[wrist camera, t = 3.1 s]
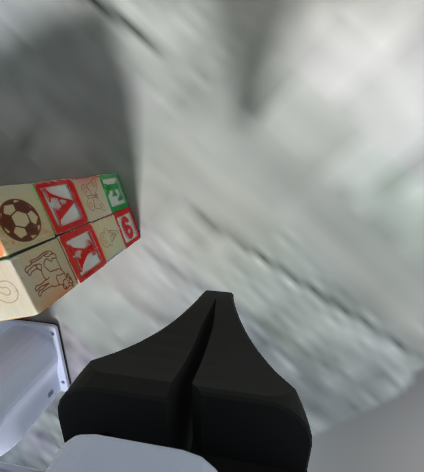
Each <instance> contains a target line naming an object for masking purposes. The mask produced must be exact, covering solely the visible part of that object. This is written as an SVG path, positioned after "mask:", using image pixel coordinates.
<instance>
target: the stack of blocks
mask: <svg viewBox="0 0 424 472" xmlns="http://www.w3.org/2000/svg"><path fill="white" fill-rule="evenodd" d="M138 239H140V234H139V231H138V229H137V226H136V223H135V220H134V218H133V215H132V212H131V209H130V207H129V205H128V202H127V199H126V197H125V194H124V191H123V188H122V185H121V182H120V180H119V177H118V174H117V173H111V174H99V175H94V176H91V177H83V178H76V179H69V178H65V179H57V180H48V181H41V182H34V183H30V184H29V183H28V184H18V185H6V186H0V321H5V320H11V319H17V318H23V317H29V316H34V315H37V314H39V313H41V312H42V311H44V310H45V309H46V308H48V307H49V306H50V305H52V304H53V303H54V302H55V301H57V300H58V299H59V298H61V297H62V296H64V295H65V294H66V293H67V292H69V291H70V290H71V289H72V288H74V287H75V286H76V285H77V284H79V283H81V282H83V281H84V280H86V279H87V278H88V277H90V276H91V275H93V274H94V273H95V272H96V271H98V270H99V269H100V268H101V267H103V266H104V265H105V264H106V263H107V262H108V261H110V260H111V259H112V258H113V257H114V256H116V255H117V254H119V253H120V252H121V251H123V250H124V249H126V248H128V247H129V246H130V245H131V244H133V243H134V242H135V241H137V240H138Z"/></svg>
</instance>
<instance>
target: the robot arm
mask: <svg viewBox="0 0 424 472" xmlns="http://www.w3.org/2000/svg"><path fill="white" fill-rule="evenodd" d="M60 391H66V393H65V394H64V395H63V396H62V398H61V399H60V402H59V405H58V416H59V421H60V425H61V429H62V433H63V437H64V442H65V443H64V444H63V445H62V447H61V449H60V450H59V452H58V453H57V455H56V456H55V458H54V459H53V461H52V462H51V464H50V465H49V467H48V469H47V470H46V471H44V470H39V469H34V468H29V467H24V466H19V465H15V464H10V463H5V462H0V472H307V467H308V462H309V457H310V452H311V447H312V435H311V430H310V426H309V423H308V420H307V417H306V414H305V411H304V408H303V406H302V403H301V401H300V399H299V396H298V394H297V392H296V390H295V389H294V388H293V387H292V386H291V385H290V384H289V383H288V382H286V381H285V380H284V379H283V378H282V377H281V376H280V375H278V374H277V373H276V372H275V371H274V369H273V368H272V367H271V366H270V365H269V364H268V363H267V361H266V360H265V359H264V358H263V357H262V355H261V354H260V353H259V352H258V350H257V349H256V347H255V346H254V344H253V343H252V341H251V340H250V338H249V337H248V335H247V333H246V331H245V329H244V327H243V325H242V323H241V321H240V319H239V316H238V313H237V311H236V308H235V304H234V299H233V294H232V293H230V292H219V291H208V290H207V291H205V292H204V293H203V294H202V295H201V296H200V298H199V299H198V300H197V301H196V302H195V303H194V304H193V305H192V306H191V307H190V308H189V309H187V310H186V311H185V312H184V313H183V314H182V315H181V316H179V317H178V318H177V319H176V320H175V321H173V322H172V323H171V324H169V325H168V326H167V327H165V328H164V329H162V330H161V331H159V332H157V333H156V334H154V335H152V336H150V337H148V338H147V339H145V340H143V341H141V342H139V343H137V344H135V345H132V346H130V347H128V348H126V349H123V350H121V351H118V352H116V353H113V354H110V355H107V356H104V357H101V358H98V359H95V360H92V361H90V363H89V364H88V365H87V366H86V367H85V368H84V369H83V371H82V372H81V373H80V374H79V376H78V377H77V378H76V380H75V381H74V382H73V383H72V385H71V386H70V384H69V379H68V374H67V370H66V365H65V360H64V355H63V351H62V346H61V341H60V336H59V332H58V328H57V326H56V325H54V324H47V323H39V322H30V321H22V320H14V319H11V320H5V321H0V456H1V455H3V454H4V453H6V452H7V451H9V450H10V449H11V448H12V447H14V446H15V445H16V444H17V443H18V442H19V441H20V440H21V439H22V438H23V437H24V435H25V434H26V433H27V432H28V431H29V429H30V428H31V427H32V426H33V424H34V423H35V422H36V421H37V419H38V418H39V417H40V416H41V414H42V413H43V412H44V411H45V409H46V408H47V407H48V406H49V404H50V403H51V402H52V401H53V400H54V398H55V397H56V396H57V395H58V393H59V392H60Z"/></svg>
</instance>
